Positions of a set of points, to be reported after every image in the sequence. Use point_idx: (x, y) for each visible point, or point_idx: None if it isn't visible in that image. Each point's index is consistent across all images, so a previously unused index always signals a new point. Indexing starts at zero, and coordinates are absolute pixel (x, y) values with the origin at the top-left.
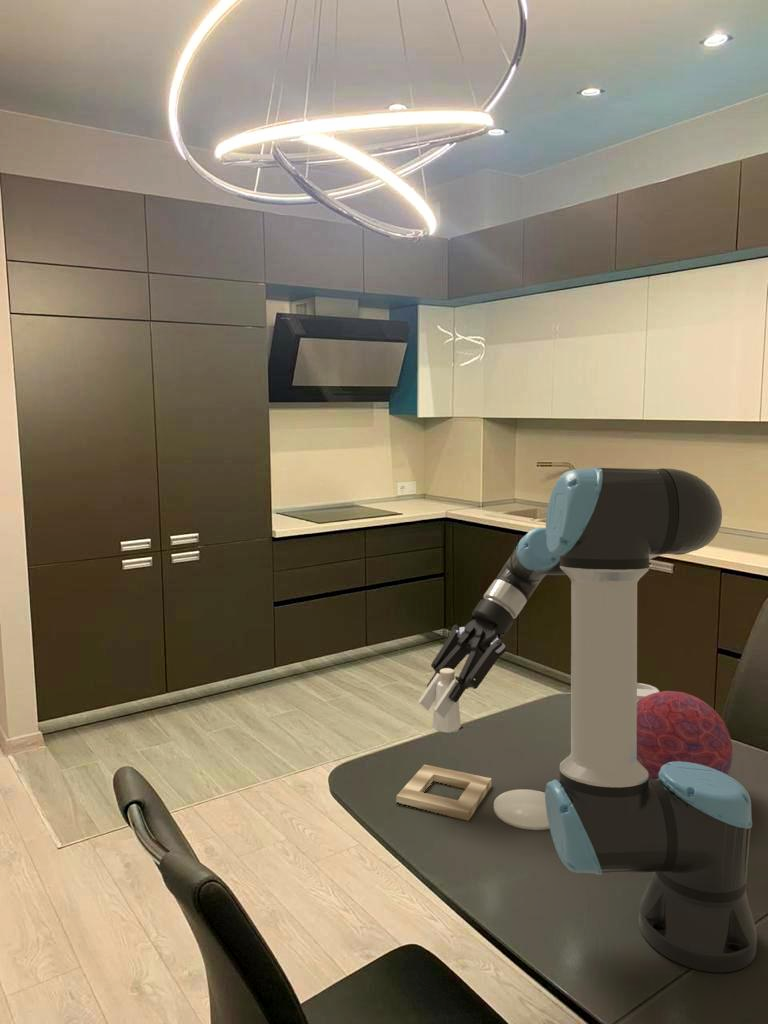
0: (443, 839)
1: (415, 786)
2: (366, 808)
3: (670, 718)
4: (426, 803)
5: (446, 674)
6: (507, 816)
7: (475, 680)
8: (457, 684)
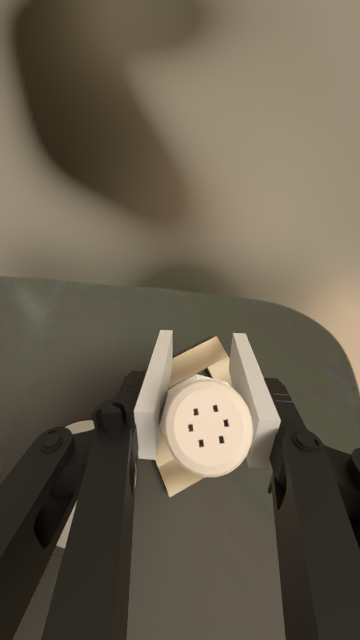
0: (122, 332)
1: (222, 373)
2: (227, 306)
3: None
4: (178, 355)
5: (180, 390)
6: (90, 426)
7: (60, 507)
8: (131, 416)
